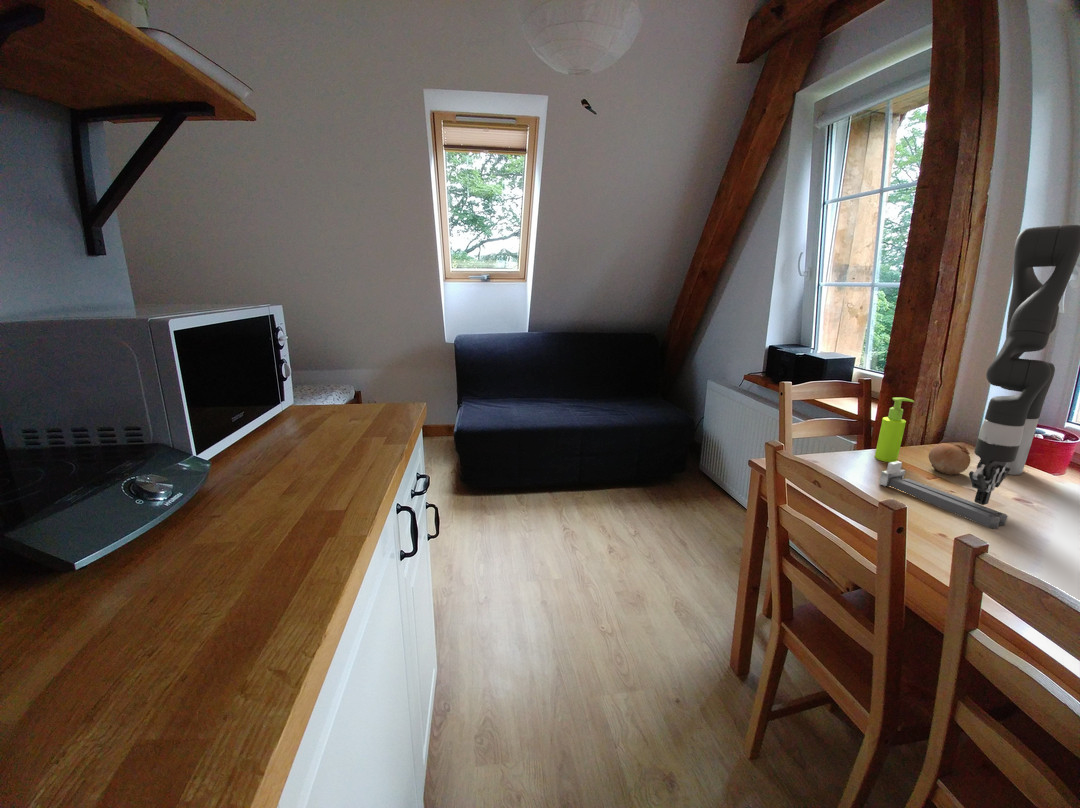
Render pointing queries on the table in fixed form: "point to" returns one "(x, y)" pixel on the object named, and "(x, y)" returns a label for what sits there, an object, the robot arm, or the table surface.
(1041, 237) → the robot arm
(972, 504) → the bar
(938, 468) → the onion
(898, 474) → the rail slider block
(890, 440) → the soap dispenser
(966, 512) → the base
